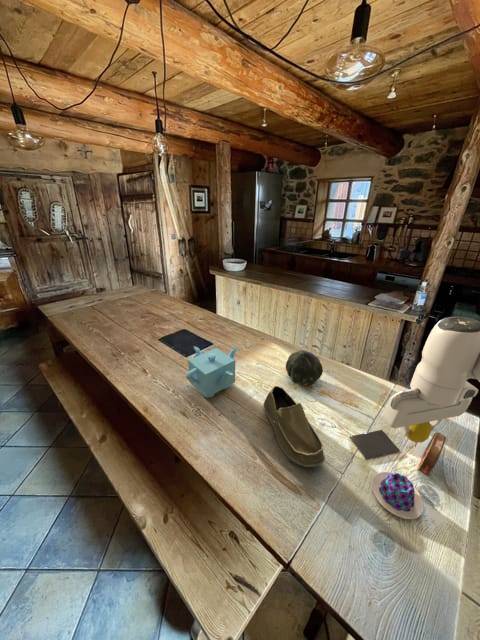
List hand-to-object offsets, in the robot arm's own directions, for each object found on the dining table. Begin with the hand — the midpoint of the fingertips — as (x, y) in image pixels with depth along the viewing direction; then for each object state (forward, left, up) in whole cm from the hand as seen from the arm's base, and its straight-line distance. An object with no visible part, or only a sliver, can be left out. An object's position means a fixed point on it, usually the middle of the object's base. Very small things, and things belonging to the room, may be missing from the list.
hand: (415, 431), depth 65 cm
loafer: (+22, -22, -19) cm, 37 cm away
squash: (+6, -47, -19) cm, 51 cm away
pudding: (+3, +3, -19) cm, 20 cm away
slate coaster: (-2, -12, -19) cm, 23 cm away
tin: (-14, -3, -19) cm, 24 cm away
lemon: (0, 0, -3) cm, 3 cm away
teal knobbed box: (+43, -51, -19) cm, 69 cm away
